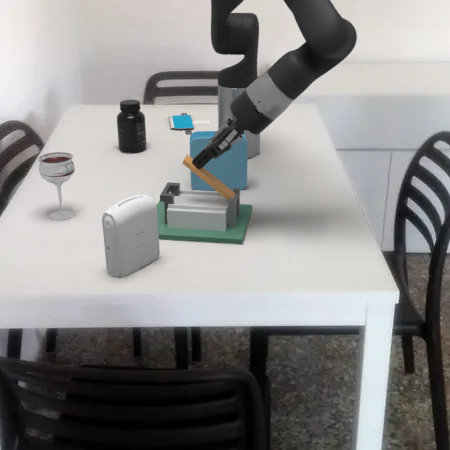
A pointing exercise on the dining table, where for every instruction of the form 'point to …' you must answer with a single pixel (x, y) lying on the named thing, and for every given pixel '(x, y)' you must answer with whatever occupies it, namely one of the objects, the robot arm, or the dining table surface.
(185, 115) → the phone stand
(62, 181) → the wineglass
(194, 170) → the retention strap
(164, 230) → the processor board
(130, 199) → the photo printer
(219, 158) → the blue rounded block
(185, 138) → the dining table surface
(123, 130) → the supplement bottle
